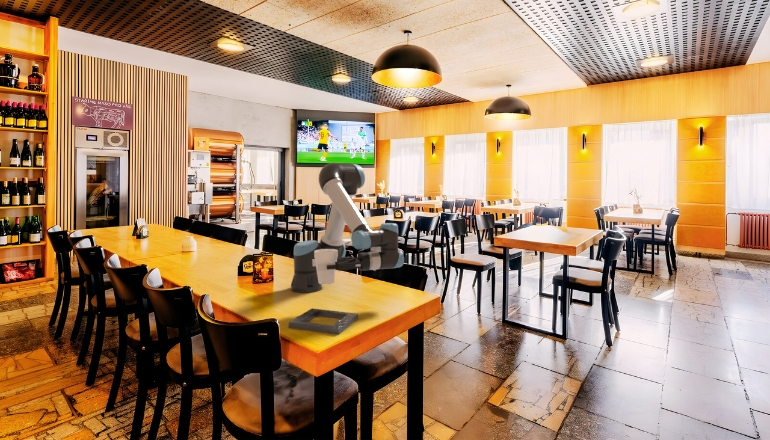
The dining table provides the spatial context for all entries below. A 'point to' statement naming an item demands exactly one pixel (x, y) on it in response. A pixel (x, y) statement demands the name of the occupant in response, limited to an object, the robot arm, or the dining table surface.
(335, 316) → the square frame
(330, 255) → the foam cup
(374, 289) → the dining table surface
